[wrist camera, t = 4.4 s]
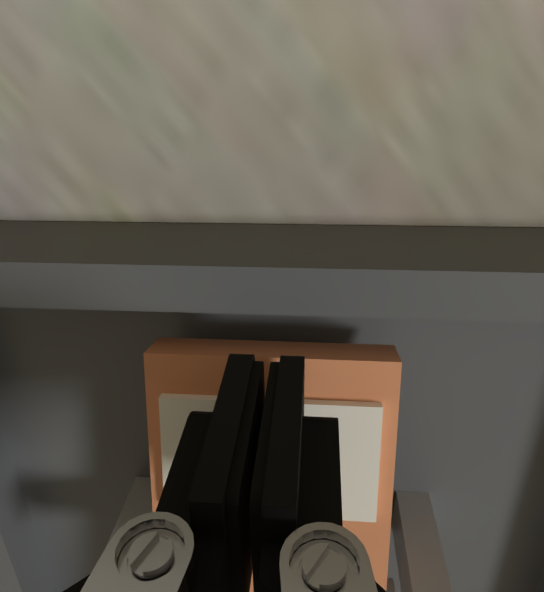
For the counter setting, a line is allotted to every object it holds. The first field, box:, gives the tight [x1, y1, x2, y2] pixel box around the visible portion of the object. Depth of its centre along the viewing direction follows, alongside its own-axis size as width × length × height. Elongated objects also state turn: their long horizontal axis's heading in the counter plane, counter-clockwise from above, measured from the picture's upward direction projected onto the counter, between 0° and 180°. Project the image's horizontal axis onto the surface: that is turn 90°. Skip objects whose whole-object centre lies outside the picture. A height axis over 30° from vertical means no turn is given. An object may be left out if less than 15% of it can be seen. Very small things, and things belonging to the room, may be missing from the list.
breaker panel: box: [0, 221, 544, 592], centre depth 15 cm, size 18×20×6 cm
